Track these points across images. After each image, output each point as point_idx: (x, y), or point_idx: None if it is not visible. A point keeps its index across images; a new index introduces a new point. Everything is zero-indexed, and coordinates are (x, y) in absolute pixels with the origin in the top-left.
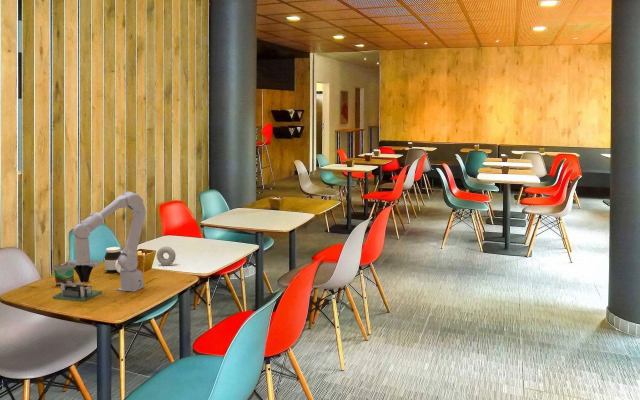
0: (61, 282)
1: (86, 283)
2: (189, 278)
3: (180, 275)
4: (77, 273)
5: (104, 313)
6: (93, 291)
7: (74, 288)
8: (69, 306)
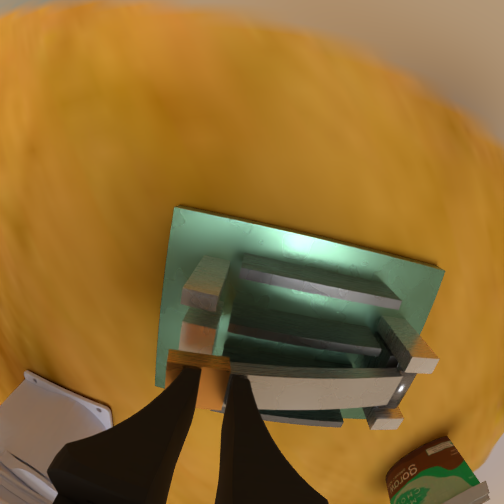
0: (432, 453)
1: (174, 355)
2: None
3: None
4: (274, 451)
5: (12, 42)
6: None
7: None
8: (241, 85)
